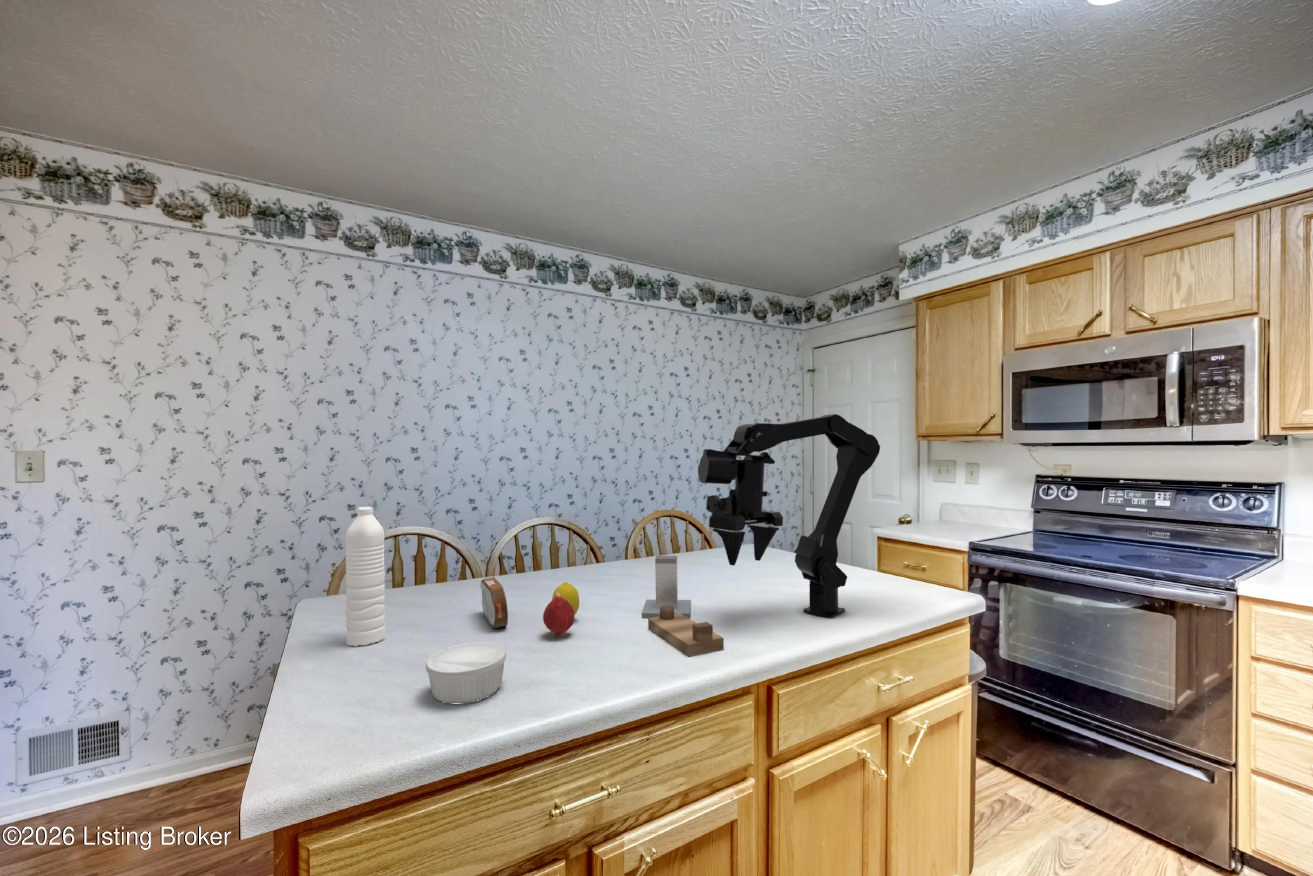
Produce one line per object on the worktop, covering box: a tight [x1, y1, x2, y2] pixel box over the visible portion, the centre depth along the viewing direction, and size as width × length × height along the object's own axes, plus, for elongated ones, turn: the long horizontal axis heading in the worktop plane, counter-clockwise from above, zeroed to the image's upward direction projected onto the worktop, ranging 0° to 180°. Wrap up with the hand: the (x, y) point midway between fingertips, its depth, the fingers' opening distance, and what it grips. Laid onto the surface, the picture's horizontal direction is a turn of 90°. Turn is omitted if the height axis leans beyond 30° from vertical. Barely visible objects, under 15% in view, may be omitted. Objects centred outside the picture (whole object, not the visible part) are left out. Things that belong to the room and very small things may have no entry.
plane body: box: [647, 605, 725, 657], centre depth 102 cm, size 16×7×4 cm, turn 26°
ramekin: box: [425, 641, 507, 704], centre depth 82 cm, size 11×11×5 cm
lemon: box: [551, 581, 580, 615], centre depth 113 cm, size 6×6×8 cm
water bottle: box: [344, 506, 386, 646], centre depth 103 cm, size 9×6×25 cm
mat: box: [641, 599, 692, 619], centre depth 119 cm, size 10×10×1 cm
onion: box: [542, 593, 576, 637], centre depth 105 cm, size 6×6×8 cm
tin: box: [480, 576, 509, 629], centre depth 114 cm, size 15×3×8 cm, turn 27°
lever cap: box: [654, 555, 679, 609], centre depth 119 cm, size 4×3×10 cm
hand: (745, 562), depth 112 cm, fingers open, 9 cm apart
